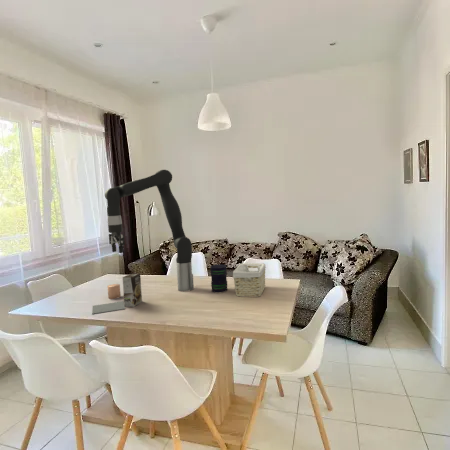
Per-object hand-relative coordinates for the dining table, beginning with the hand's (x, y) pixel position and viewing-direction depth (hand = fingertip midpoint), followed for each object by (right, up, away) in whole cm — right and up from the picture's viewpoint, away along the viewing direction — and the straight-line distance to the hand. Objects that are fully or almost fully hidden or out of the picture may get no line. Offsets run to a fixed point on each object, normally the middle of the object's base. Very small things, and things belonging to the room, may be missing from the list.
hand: (117, 252), depth 185 cm
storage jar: (+57, -25, +14) cm, 64 cm away
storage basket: (+76, -24, +9) cm, 80 cm away
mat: (-2, -29, -10) cm, 31 cm away
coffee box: (+10, -28, -5) cm, 31 cm away
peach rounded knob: (-5, -28, +10) cm, 30 cm away
